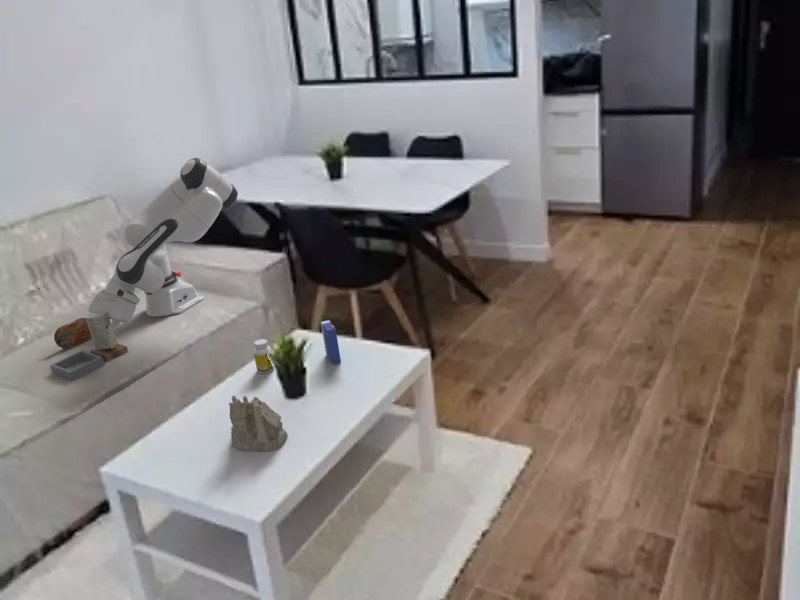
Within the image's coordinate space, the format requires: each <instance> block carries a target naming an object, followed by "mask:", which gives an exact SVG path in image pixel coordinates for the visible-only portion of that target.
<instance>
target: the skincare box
mask: <svg viewBox="0 0 800 600" xmlns="http://www.w3.org/2000/svg"><path fill="white" fill-rule="evenodd" d="M85 318H86V321H87V324H88V327H89V330H90V333H91V336H92V338H91V340H92V342H93V345H94V349H95V348H96V349H108V348H113V347H114V346H115V344H116V343H118V342H117V341H118V340H117V338H116V335H115V331H114V330H113V332H112V333H109V332H106V329H107V326H108V327H109V326H110V324H111V323H112V322H111V321H112V320H111V319H110V318H108V317H107V311H106V312H93V313H90V312H89V314H88V315H87V316H86V317H85Z"/></svg>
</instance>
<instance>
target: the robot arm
mask: <svg viewBox="0 0 800 600" xmlns="http://www.w3.org/2000/svg"><path fill="white" fill-rule="evenodd" d="M179 174H180V176H178V177H176V178H175V179H174V180H173V181H172V182H170V184H169V185H167V186H166V187H165V188H164V189H163V190H162V191H161V192H160V193H158V194H157V195H156V196H155V197H154V198H153V199H152V200H151V201H149V202H148V203H147V204H146V205H145V206H144V207H143V208H141V209H140V210H138V211H137V212H136V213H135V214H134V215H133V216H132V218H130V220H128V222H127V223H126V225H125V227H124V232H123V234H124V235H123V236H124V239H125V242H126V243H127V244H128V245H129V246H130V247H132V248H128V249H127V250H125V251H124V253H122V255H121V256H120V258H119V259H118V260H117V263H116V266H115V268H114V273H113V275H112V276H111V277H110V279H109V281H108V283H107V285H106V288H105V289H102V290H100V291H99V292H97V294H96V295H95V296H94V298H93V299H92V300H91V303H90V304H89V306H88V309H87V311H88V313H89V314H90V313H93V312H106V311H107V317H108V318H110V321H111V324H110V326H109V327H108V326H107V329H106V332H109V333H112V332H113V331H114V329H116V328H117V327H118V326H119V324H120V323H124V324H128V323H130V321H131V320H132V318H133V316H134V314H135V312H136V309H137V305H139V304H140V301H141V298H140V297H138V296H137V295H136V294H135V293H134V292H135V290H136V289H138V290H141V291H142V292H144V294H145V295H144V296H145V301H146V310H145V311H146V315H147V316H148V317H153V318H157V317H158V318H159V317H167V316H170V315H179V314H181V313H184V311H187V310H188V309H189V308H192V307H193V306H194V305H197V303H200V302H201V301H202V300H204V296H203V295H202V294H201V293H199V292H196V289H195V287H194V286H193V285H192V284H191V283H188V282H186V281H184V280H181V279H178V278H181V276H182V272H181V271H172V269H171V264H170V261H169V256H168V252H167V244H168V243H170V242H177V241H179V242H185V243H190V242H191V243H192V242H195V241H196V242H197V241H198V240H200V239H201V238H203V236H205V234H206V233H207V232H208V230H209V229H210V228H211V226H212V225H213V224H214V223H215V221H216V219H217V217H218V216H219V215H220V212H221V211H225V210H228V209H230V208H232V207H233V206H234V204H235V203H236V202H237V200H238V190H237V188H236V187H235V186H234V184H232V183H231V182H230V181H229V180H228V179H227V178H226V177H225V176H224V175H223V174H222V173H221V172H219V171H218V170H216V169H215V168H214V167H212V166H211V165H209V164H208V163H207V162H206V161H205V160H203V159H201V158H199V157H195V158H194V157H193V158H191V159H188V160H187V162H185V163H184V165H183V166H182V167H181V170H180V173H179Z"/></svg>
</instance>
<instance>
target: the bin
mask: <svg viewBox="0 0 800 600" xmlns="http://www.w3.org/2000/svg"><path fill="white" fill-rule="evenodd" d="M81 361H87V362H86V363H84V364H81V365H80V366H77V367H75V368H74V369H71V370H69V369H68V368H70V367H73V365H75V364H77V363H80V362H81ZM104 361H105V360H103V358H102V357H101V356H98V355H95V354H92V353H90V351H89V352H88V351H86V350H83V349H82V350H80V351H77V352H76V353H75V352H74V353H73V354H70V355H69V356H67V357H64V358H62V359H60V360H59V361H56V362H54V363H52V364H50V365H49V367H50V370H51V373H52V374H53V375H56V376H59V377H61V378H63V379H66V380H68V381H70V382H74V381H75V380H77V379H79V378H82V377H83V376H85V375H87V374H89V373H91V372H93V371H96V370H97V369H99V368H101V367H103V366H105V362H104Z"/></svg>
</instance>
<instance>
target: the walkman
mask: <svg viewBox="0 0 800 600" xmlns="http://www.w3.org/2000/svg"><path fill="white" fill-rule="evenodd" d="M320 325H321V331H322V338H323V343H324V351H325V356H326V357H327V356H328V357H327V358H328V360H329V361H330V363H331V364H332V365H336V364H337V365H338V364H339V363H342V361H341V360H342V359H341V355H340V349H339V348H340V347H339V341H338V334H337V329H336V327H335V326H334V324H333V323H332V322H331V320H330V319H329V320H323V321H321V322H320Z"/></svg>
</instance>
